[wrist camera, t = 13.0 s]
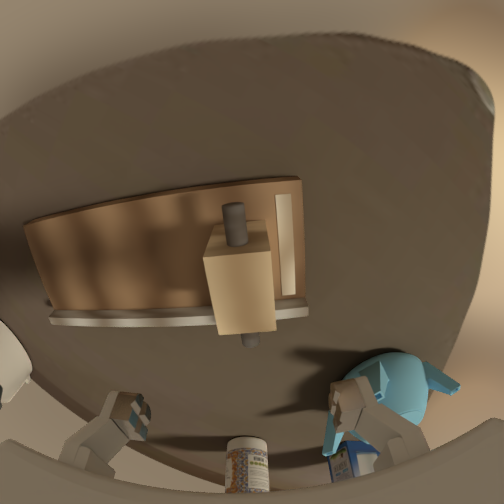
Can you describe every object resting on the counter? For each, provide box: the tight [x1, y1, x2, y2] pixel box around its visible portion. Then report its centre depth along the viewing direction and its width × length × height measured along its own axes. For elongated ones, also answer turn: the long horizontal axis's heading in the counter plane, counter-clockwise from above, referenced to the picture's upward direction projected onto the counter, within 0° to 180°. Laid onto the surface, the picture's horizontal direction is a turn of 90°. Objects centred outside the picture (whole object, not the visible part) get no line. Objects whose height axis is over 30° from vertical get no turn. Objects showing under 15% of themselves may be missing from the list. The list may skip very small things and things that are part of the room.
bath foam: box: [225, 437, 269, 493], centre depth 31 cm, size 7×7×20 cm
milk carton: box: [327, 441, 380, 483], centre depth 34 cm, size 10×6×20 cm, turn 63°
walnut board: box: [23, 176, 308, 327], centre depth 23 cm, size 28×12×4 cm, turn 96°
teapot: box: [322, 352, 460, 456], centre depth 28 cm, size 15×15×11 cm
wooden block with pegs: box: [203, 202, 276, 348], centre depth 20 cm, size 4×11×6 cm, turn 6°
